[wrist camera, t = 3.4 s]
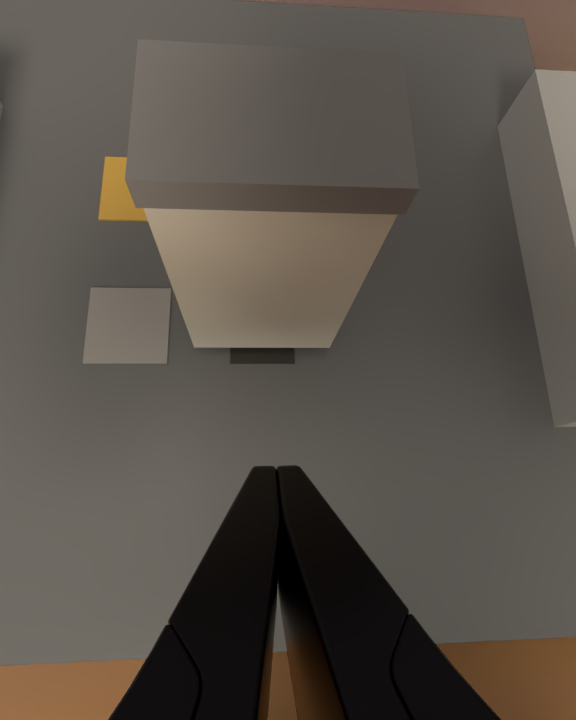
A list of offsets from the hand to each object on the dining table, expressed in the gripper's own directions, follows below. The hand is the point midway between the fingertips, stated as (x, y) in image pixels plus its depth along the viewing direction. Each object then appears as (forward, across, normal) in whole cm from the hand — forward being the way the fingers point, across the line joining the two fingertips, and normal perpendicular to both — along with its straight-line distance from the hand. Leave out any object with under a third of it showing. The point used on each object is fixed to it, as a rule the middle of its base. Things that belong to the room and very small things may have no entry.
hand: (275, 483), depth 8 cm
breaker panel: (+13, 0, 0) cm, 13 cm away
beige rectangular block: (+10, 0, +1) cm, 10 cm away
